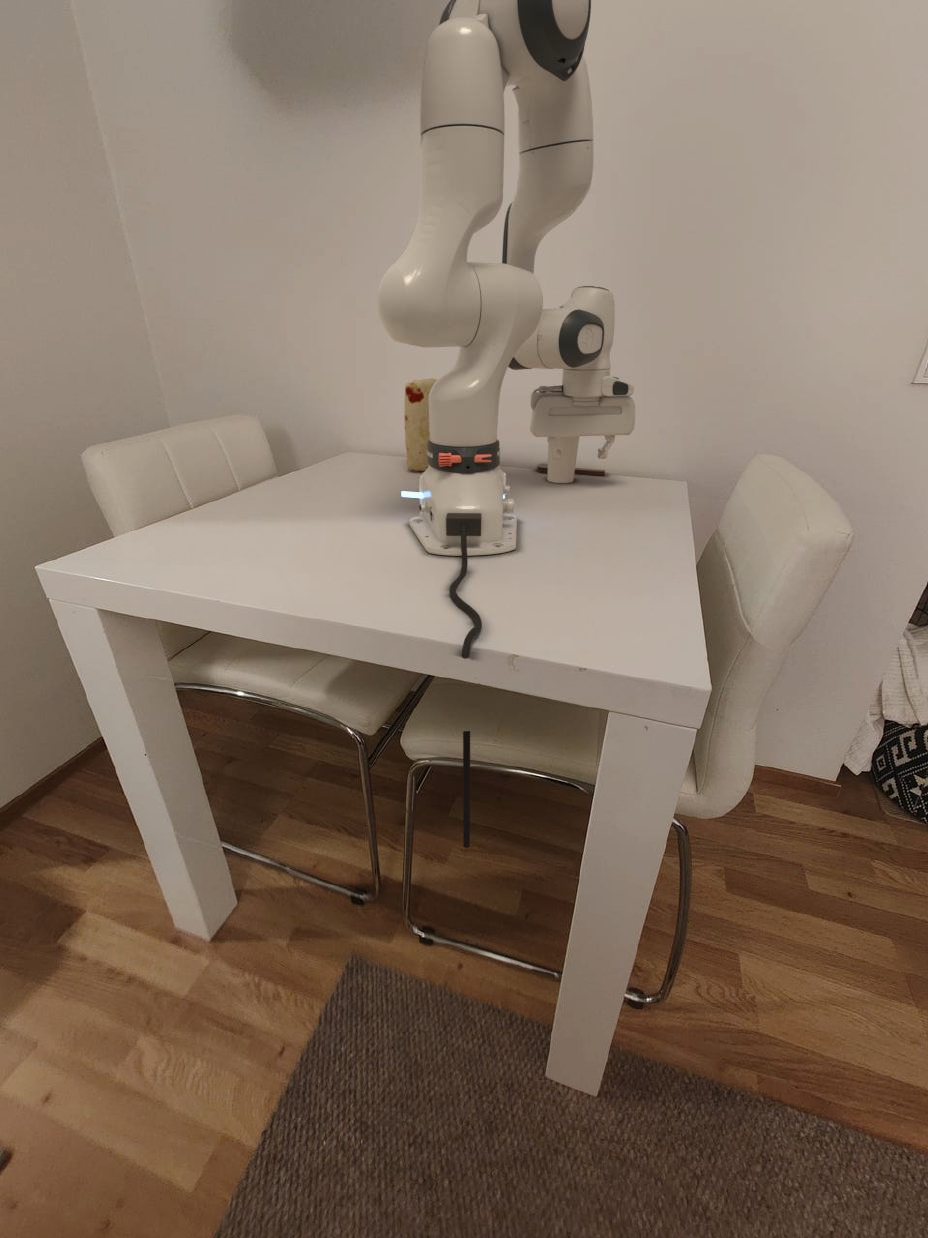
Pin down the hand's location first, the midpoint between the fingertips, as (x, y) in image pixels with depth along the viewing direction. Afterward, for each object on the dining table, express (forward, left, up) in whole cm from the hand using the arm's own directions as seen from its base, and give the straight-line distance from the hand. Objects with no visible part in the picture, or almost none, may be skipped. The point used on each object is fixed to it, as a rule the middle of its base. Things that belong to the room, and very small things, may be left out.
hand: (579, 458), depth 115 cm
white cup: (+9, +1, -7) cm, 11 cm away
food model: (+21, +30, -7) cm, 38 cm away
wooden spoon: (+15, -3, -7) cm, 17 cm away
